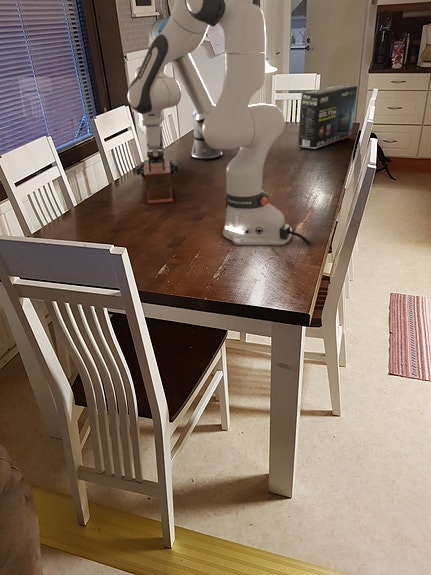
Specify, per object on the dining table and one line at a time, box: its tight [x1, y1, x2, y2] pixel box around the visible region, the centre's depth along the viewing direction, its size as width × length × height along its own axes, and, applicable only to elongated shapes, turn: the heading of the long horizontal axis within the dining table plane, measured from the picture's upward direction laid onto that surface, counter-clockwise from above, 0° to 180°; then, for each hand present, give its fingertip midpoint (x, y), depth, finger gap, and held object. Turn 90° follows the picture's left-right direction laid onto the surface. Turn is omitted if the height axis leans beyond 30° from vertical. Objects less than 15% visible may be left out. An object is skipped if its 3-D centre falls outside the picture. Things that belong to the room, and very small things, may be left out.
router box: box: [297, 84, 358, 151], centre depth 238 cm, size 36×11×27 cm, turn 134°
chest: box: [144, 175, 174, 204], centre depth 180 cm, size 14×10×10 cm
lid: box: [143, 150, 171, 178], centre depth 175 cm, size 14×10×8 cm
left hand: (157, 175), depth 183 cm, fingers closed on chest, 10 cm apart
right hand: (155, 154), depth 170 cm, fingers closed on lid, 2 cm apart
